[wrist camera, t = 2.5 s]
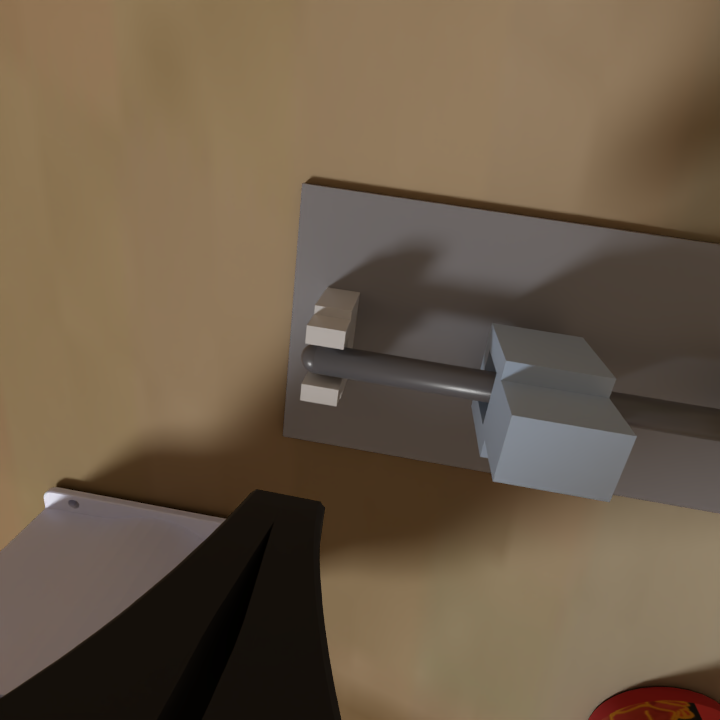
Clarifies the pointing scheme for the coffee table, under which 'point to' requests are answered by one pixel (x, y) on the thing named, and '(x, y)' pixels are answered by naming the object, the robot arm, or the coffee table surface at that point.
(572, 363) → the sleeve
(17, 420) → the coffee table surface
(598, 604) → the coffee table surface
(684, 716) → the canned food
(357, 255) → the linear slide rail
